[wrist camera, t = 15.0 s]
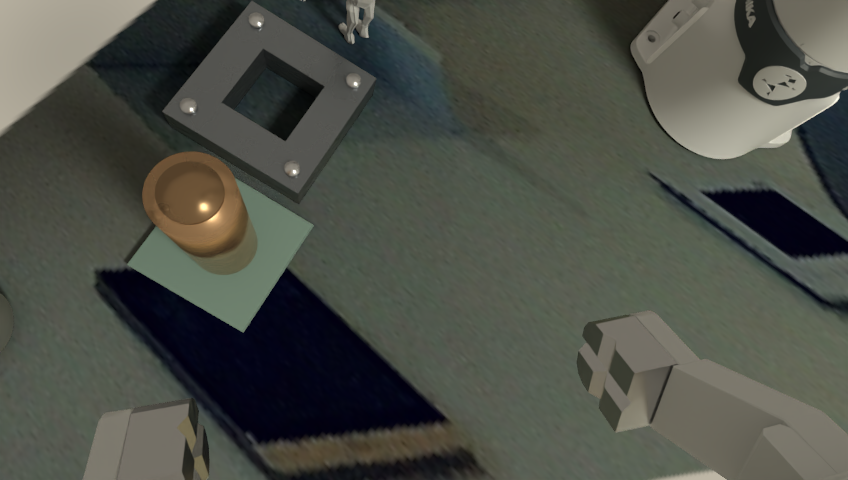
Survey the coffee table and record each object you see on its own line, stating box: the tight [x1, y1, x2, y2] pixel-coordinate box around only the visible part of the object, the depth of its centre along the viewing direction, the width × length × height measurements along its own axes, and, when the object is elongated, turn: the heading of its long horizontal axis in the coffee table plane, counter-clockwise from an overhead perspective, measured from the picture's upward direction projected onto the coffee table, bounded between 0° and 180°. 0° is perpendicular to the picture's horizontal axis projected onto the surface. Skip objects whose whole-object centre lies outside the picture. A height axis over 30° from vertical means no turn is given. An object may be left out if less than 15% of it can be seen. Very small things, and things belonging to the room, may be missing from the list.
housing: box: [162, 1, 376, 204], centre depth 45 cm, size 12×12×3 cm
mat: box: [127, 178, 313, 333], centre depth 43 cm, size 10×10×1 cm
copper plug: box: [142, 152, 258, 275], centre depth 37 cm, size 5×5×13 cm
